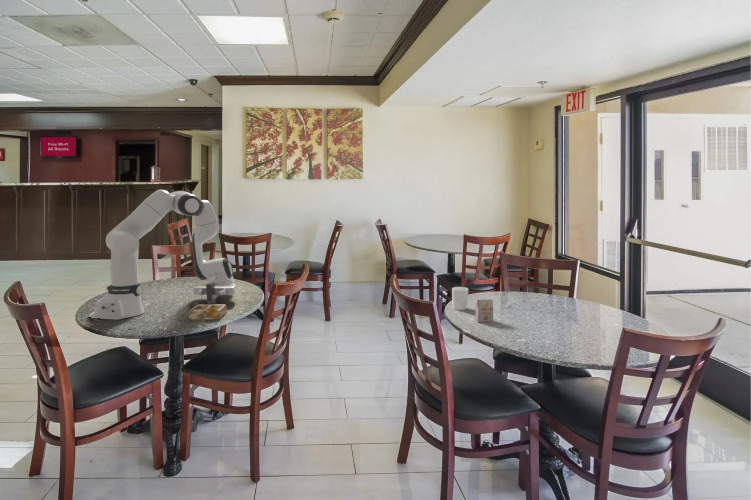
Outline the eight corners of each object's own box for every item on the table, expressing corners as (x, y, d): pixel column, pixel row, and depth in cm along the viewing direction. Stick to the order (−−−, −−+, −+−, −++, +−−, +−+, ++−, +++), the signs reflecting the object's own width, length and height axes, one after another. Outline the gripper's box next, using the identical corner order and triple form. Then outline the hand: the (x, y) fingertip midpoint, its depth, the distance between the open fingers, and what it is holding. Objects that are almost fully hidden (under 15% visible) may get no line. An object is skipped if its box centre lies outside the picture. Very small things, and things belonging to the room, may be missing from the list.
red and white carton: (475, 320, 209) (476, 298, 207) (490, 319, 209) (491, 298, 208) (477, 322, 205) (478, 300, 204) (492, 322, 206) (493, 300, 204)
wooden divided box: (189, 319, 206) (188, 308, 206) (197, 311, 218) (197, 301, 217) (219, 319, 207) (219, 308, 206) (227, 311, 218) (226, 301, 218)
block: (207, 308, 224) (206, 284, 222) (210, 305, 229) (209, 282, 227) (212, 308, 224) (211, 284, 222) (215, 305, 229) (214, 282, 227)
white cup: (456, 311, 222) (457, 291, 221) (448, 307, 230) (449, 287, 228) (470, 309, 225) (471, 289, 224) (461, 305, 233) (462, 286, 231)
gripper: (197, 281, 237) (188, 287, 223) (238, 281, 238) (231, 287, 224) (198, 293, 238) (188, 300, 224) (238, 293, 239) (231, 300, 225)
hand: (210, 293), depth 224 cm, fingers open, 8 cm apart
